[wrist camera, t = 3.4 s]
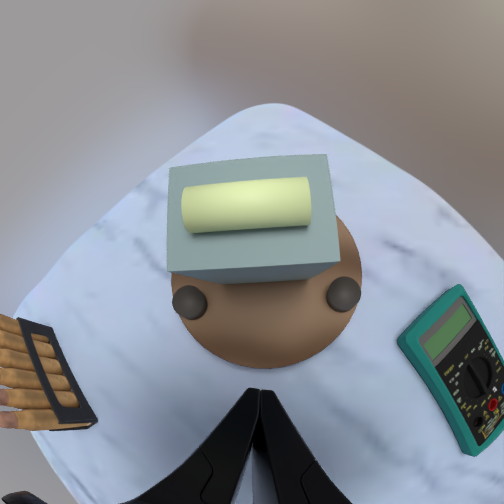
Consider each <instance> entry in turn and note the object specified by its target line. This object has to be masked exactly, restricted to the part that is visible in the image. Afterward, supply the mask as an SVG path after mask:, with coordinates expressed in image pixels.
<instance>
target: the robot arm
mask: <svg viewBox="0 0 504 504" xmlns="http://www.w3.org/2000/svg"><path fill="white" fill-rule="evenodd" d="M251 447H252V483H253V504H352V503H351V502H350V501H349V500H348V499H347V498H346V497H345V496H344V494H343V493H342V492H341V491H340V490H339V489H338V488H337V487H336V486H335V485H334V483H333V482H332V481H331V480H330V479H329V477H328V476H327V475H326V473H325V472H324V470H323V469H322V468H321V466H320V465H319V463H318V461H317V460H315V457H314V456H313V454H312V452H311V451H310V449H309V448H308V446H307V445H306V443H305V442H304V440H303V438H302V437H301V435H300V434H299V432H298V430H297V429H296V427H295V426H294V424H293V422H292V421H291V419H290V418H289V416H288V414H287V413H286V411H285V409H284V408H283V406H282V404H281V403H280V401H279V399H278V398H277V396H276V394H275V393H274V391H272V390H261V391H260V389H255V388H248V389H247V390H246V391H245V392H244V393H243V395H242V396H241V397H240V398H239V400H238V401H237V402H236V403H235V405H234V406H233V407H232V408H231V410H230V411H229V412H228V413H227V414H226V416H225V417H224V418H223V419H222V420H221V422H220V423H219V424H218V425H217V426H216V427H215V429H214V430H213V431H212V432H211V433H210V434H209V436H208V437H207V438H206V439H205V440H204V441H203V442H202V444H201V445H200V446H199V448H197V449H196V450H195V451H194V452H193V453H192V455H191V456H190V457H189V458H188V459H187V460H186V461H185V462H184V463H183V464H182V465H180V466H179V467H178V468H177V469H176V470H174V471H173V472H172V473H171V474H169V475H168V476H167V477H165V478H164V479H163V480H161V481H160V482H159V483H157V484H156V485H154V486H153V487H152V488H150V489H149V490H147V491H146V492H144V493H143V494H141V495H140V496H138V497H136V498H134V499H132V500H130V501H127V502H124V503H120V504H235V501H236V498H237V495H238V491H239V488H240V485H241V482H242V479H243V475H244V472H245V469H246V465H247V462H248V459H249V455H250V451H251ZM2 500H3V501H4V502H5V503H6V504H47V503H46V502H44V501H42V500H41V499H39V498H38V497H36V496H35V495H33V494H31V493H30V492H27V491H20V492H14V493H10V494H7V495H6V496H4V497H2Z"/></svg>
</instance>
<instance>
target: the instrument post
mask: <svg viewBox="0 0 504 504" xmlns="http://www.w3.org/2000/svg"><path fill="white" fill-rule="evenodd" d="M338 262H340V250H339V240H338V230H337V221H336V213H335V205H334V198H333V191H332V184H331V177H330V171H329V165H328V159H327V154H313V155H289V156H273V157H259V158H247V159H236V160H226V161H217V162H209V163H201V164H193V165H186V166H179V167H172V168H170V170H169V187H168V211H167V272H171V273H176V274H180V275H184V276H188V277H192V278H196V279H201V280H205V281H209V282H214V283H218V284H240V283H259V282H277V281H293V280H308V279H311V278H313V277H314V276H316V275H318V274H320V273H321V272H323V271H325V270H327V269H328V268H330V267H332V266H333V265H335V264H337V263H338Z"/></svg>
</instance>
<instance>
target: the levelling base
mask: <svg viewBox="0 0 504 504" xmlns="http://www.w3.org/2000/svg"><path fill="white" fill-rule="evenodd" d="M336 221H337V230H338V240H339V250H340V262H338V263H337V264H335V265H333V266H332V267H330V268H328V269H327V270H325V271H323V272H321V273H320V274H318V275H316V276H314V277H313V278H311V279H308V280H293V281H277V282H259V283H240V284H218V283H214V282H209V281H205V280H201V279H196V278H192V277H188V276H184V275H180V274H176V273H172V279H171V285H172V293H173V300H172V304H173V308H174V310H175V311H176V313H178V314H179V316H180V318H181V320H182V322H183V323H184V325H185V327H186V328H187V330H188V331H189V332H190V333H191V335H192V336H193V337H194V338H195V339H196V340H197V341H198V342H199V343H200V344H201V345H202V346H203V347H204V348H206V349H207V350H209V351H210V352H212V353H213V354H215V355H216V356H218V357H220V358H222V359H224V360H226V361H229V362H232V363H235V364H238V365H241V366H247V367H253V368H269V369H271V368H280V367H285V366H289V365H293V364H296V363H299V362H301V361H304V360H306V359H308V358H310V357H312V356H313V355H315V354H317V353H319V352H320V351H322V350H323V349H324V348H326V347H327V346H328V345H329V344H331V343H332V342H333V341H334V340H335V339H336V338H337V337H338V336H339V335H340V333H341V332H342V331H343V330H344V328H345V327H346V325H347V324H348V323H349V321H350V319H351V317H352V315H353V313H354V311H355V309H356V306H357V303H358V302H359V300H360V297H361V284H362V269H361V261H360V257H359V252H358V249H357V247H356V244H355V242H354V239H353V237H352V236H351V234H350V232H349V230H348V229H347V227H346V226H345V225H344V223H343V222H342V221H341V220H340V219H339V218H338V216H337V215H336Z"/></svg>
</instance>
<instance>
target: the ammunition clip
mask: <svg viewBox="0 0 504 504" xmlns="http://www.w3.org/2000/svg"><path fill="white" fill-rule="evenodd" d="M0 367H2V368H0V385H4V386H7V387H9V388H13V389H0V405H4V406H9V407H15V408H18V409H23V410H21V411H11V412H8V411H2V412H0V427H2V428H15V429H26V430H30V431H38V430H49V431H65V430H81V429H88V428H89V427H91V426H92V425H94V424H95V423H96V422H98V419H97V417H96V415H95V414H94V412H93V411H92V409H91V407H90V405H89V404H88V402H87V400H86V398H85V397H84V395H83V393H82V391H81V389H80V387H79V385H78V384H77V382H76V380H75V378H74V376H73V374H72V372H71V370H70V368H69V366H68V363H67V361H66V359H65V357H64V355H63V352H62V350H61V348H60V346H59V343H58V341H57V339H56V336H55V334H54V331H53V329H52V327H48V326H45V325H42V324H38V323H35V322H32V321H29V320H25V319H22V318H19V317H18V318H17V320H15V319H13V318H10V317H7V316H5V315H2V314H0Z"/></svg>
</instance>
